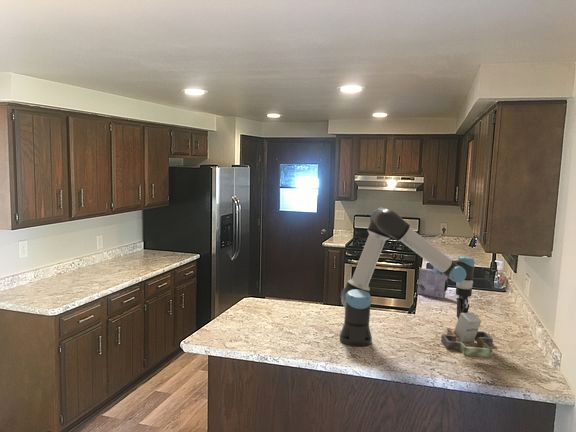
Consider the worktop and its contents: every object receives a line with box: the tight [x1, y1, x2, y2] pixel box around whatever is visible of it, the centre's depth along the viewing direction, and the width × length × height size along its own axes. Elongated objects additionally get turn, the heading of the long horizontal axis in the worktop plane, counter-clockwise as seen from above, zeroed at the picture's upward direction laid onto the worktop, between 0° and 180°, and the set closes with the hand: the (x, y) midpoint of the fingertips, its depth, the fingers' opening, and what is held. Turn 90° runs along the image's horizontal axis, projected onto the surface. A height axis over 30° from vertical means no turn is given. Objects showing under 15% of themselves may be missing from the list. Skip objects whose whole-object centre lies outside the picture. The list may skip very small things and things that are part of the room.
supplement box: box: [453, 312, 482, 343], centre depth 234 cm, size 7×7×13 cm
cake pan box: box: [416, 267, 449, 299], centre depth 323 cm, size 19×5×18 cm, turn 58°
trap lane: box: [440, 328, 494, 358], centre depth 229 cm, size 24×27×4 cm
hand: (460, 333), depth 242 cm, fingers closed
